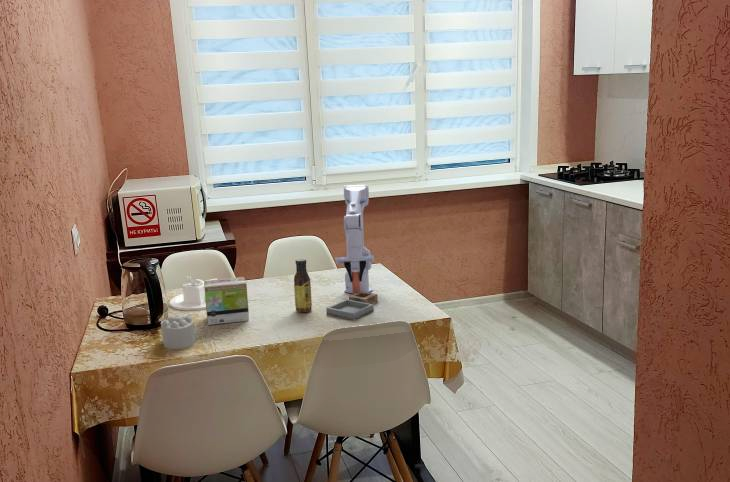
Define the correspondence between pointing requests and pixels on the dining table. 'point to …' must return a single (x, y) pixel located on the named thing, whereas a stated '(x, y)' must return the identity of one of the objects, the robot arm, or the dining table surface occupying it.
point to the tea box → (226, 300)
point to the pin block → (364, 297)
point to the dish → (191, 296)
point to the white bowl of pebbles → (178, 332)
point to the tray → (350, 309)
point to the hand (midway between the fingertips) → (355, 280)
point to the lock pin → (356, 281)
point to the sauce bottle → (302, 287)
